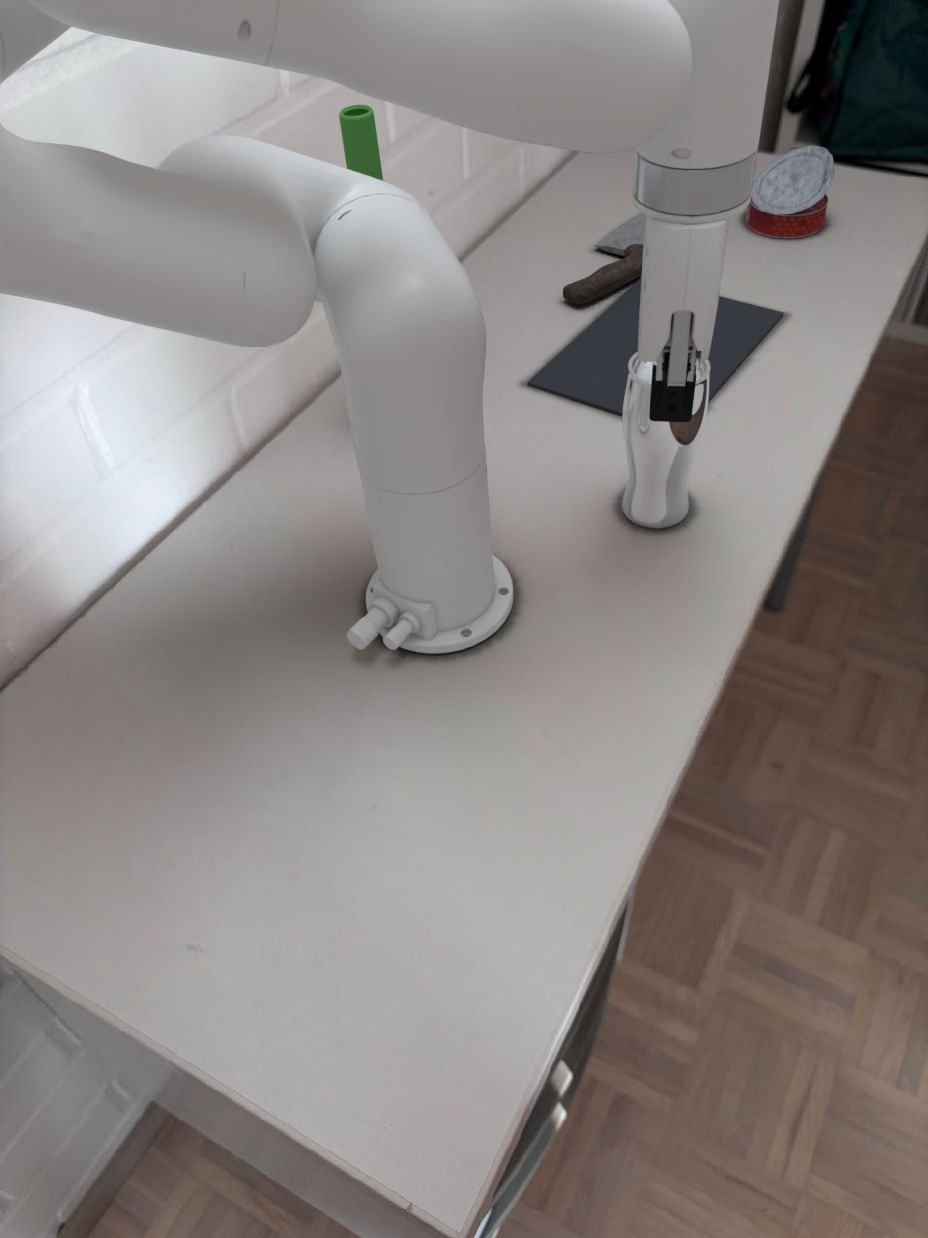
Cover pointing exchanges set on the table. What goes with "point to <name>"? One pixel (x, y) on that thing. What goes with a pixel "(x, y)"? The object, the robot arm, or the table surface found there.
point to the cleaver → (618, 273)
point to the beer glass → (659, 449)
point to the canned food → (792, 194)
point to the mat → (611, 340)
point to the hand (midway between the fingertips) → (670, 415)
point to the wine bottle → (360, 140)
